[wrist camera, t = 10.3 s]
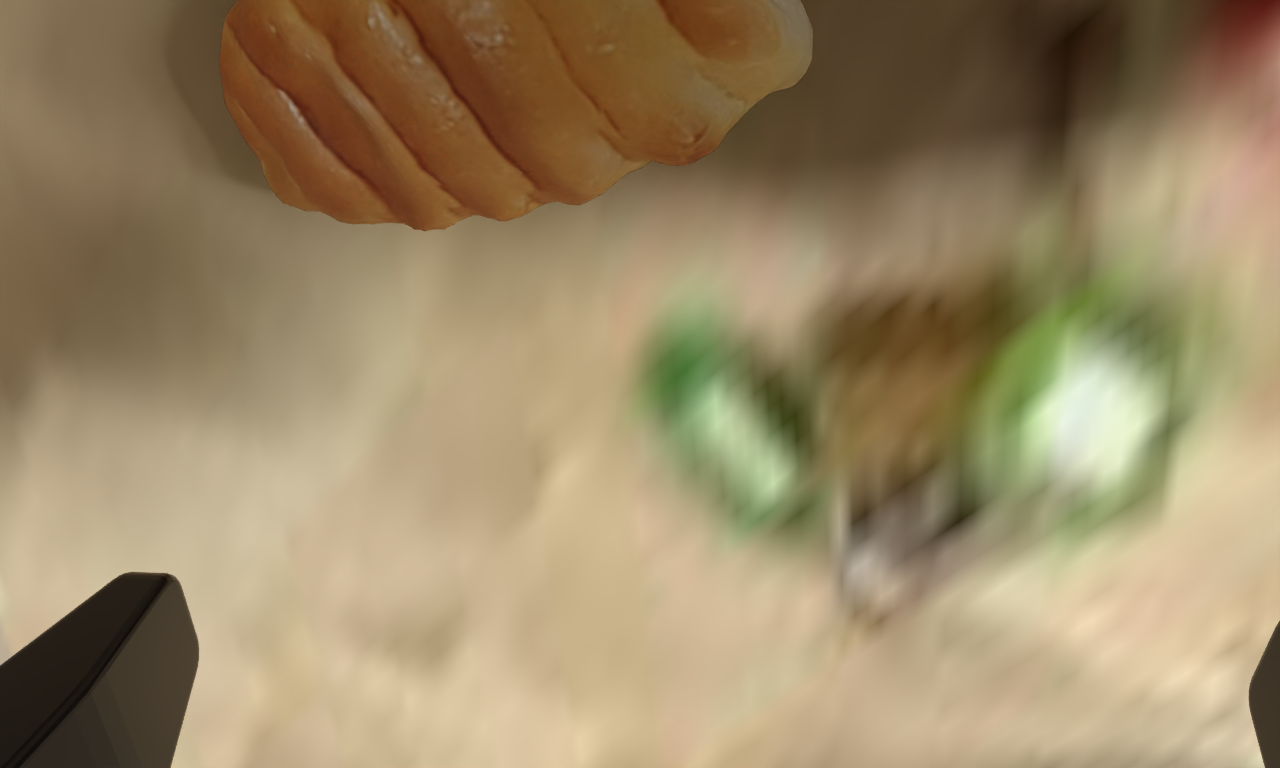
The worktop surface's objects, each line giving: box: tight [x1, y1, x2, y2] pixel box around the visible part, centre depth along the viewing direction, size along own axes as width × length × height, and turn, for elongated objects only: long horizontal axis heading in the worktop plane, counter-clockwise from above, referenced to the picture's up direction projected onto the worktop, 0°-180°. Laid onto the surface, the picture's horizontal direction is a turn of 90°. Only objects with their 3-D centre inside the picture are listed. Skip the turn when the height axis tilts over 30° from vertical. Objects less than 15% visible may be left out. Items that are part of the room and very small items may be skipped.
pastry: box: [219, 0, 813, 231], centre depth 18 cm, size 9×7×4 cm
